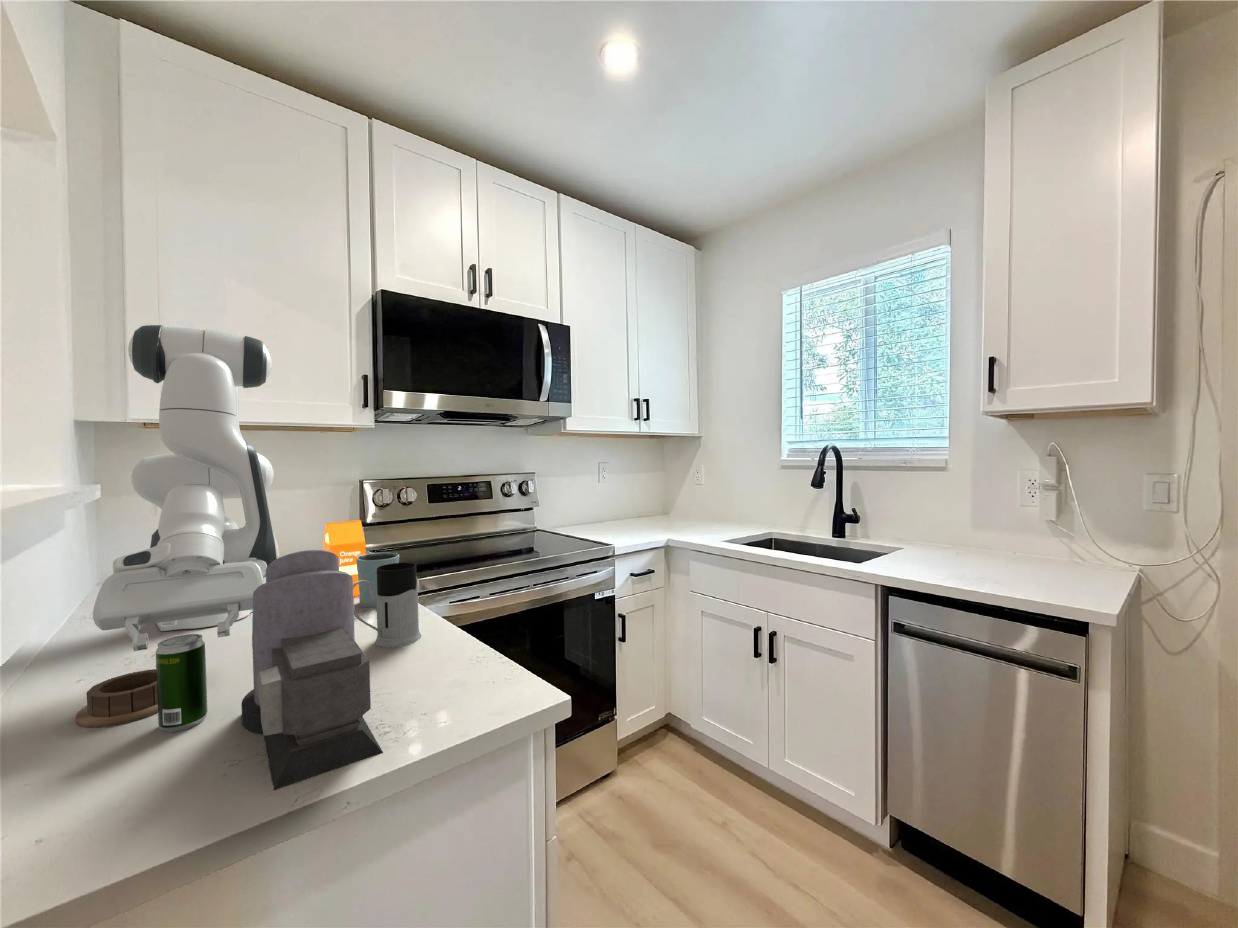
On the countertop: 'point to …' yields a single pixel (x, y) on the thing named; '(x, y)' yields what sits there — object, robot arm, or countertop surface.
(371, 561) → the teal cup
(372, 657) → the countertop surface
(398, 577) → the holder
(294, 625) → the juicer
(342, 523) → the orange juice
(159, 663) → the beer can
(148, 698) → the collar coaster
